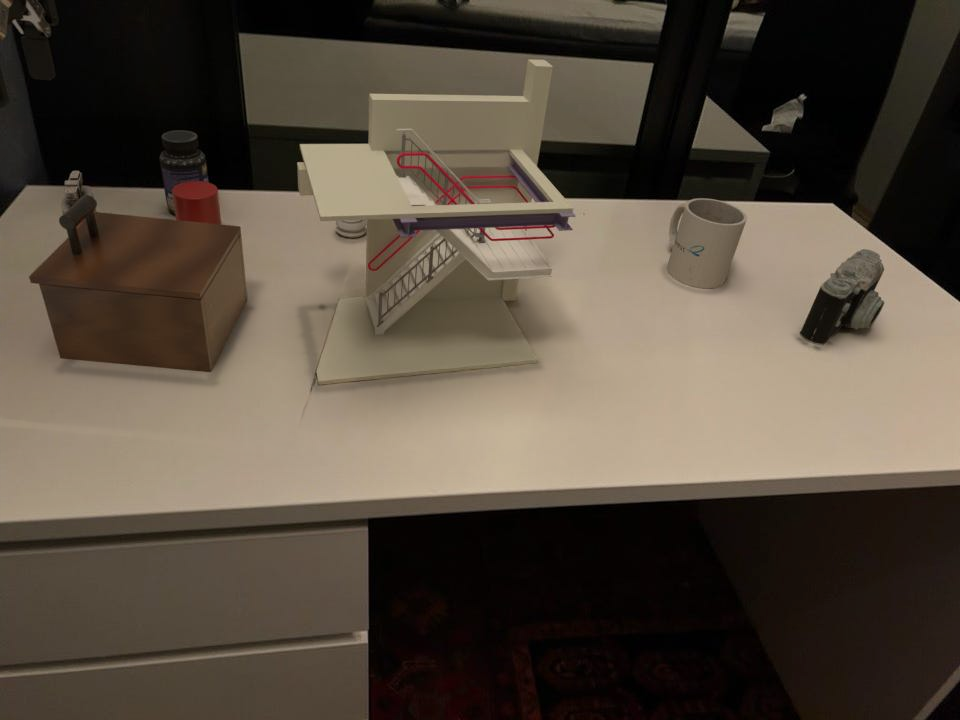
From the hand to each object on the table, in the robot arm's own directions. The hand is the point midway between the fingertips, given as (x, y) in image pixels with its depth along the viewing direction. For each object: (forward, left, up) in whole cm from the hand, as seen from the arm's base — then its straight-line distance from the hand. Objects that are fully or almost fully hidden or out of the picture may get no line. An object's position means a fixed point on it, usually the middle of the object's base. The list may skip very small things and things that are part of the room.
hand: (21, 91), depth 68 cm
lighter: (-6, +16, -26) cm, 31 cm away
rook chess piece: (+26, +29, -26) cm, 47 cm away
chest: (+9, 0, -26) cm, 28 cm away
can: (+7, +21, -26) cm, 34 cm away
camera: (+95, +16, -26) cm, 100 cm away
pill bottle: (+2, +31, -26) cm, 41 cm away
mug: (+77, +29, -26) cm, 86 cm away
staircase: (+39, +4, -26) cm, 47 cm away
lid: (+9, 0, -16) cm, 18 cm away
